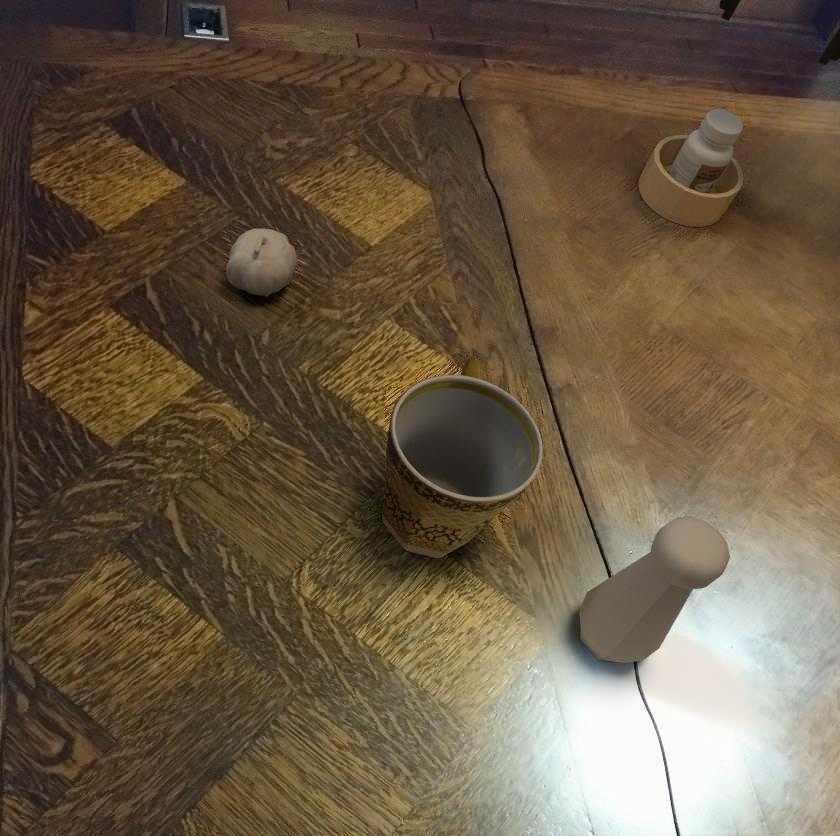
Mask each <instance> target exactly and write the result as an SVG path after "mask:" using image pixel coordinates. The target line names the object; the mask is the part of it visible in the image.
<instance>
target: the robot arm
mask: <svg viewBox="0 0 840 836" xmlns="http://www.w3.org/2000/svg"><path fill="white" fill-rule="evenodd" d="M741 1H742V0H720V1H719V7H718V8H719V9H721V10H723V12H722V15H721V16H720V18H721V19H723V20H725V21H728V22H729V21H730V20H731V18H732V17H733V15H734V14H735V12H736V10H737V9H738V7H739V5H740V3H741ZM839 59H840V25H839V26H838V27H837V28H836V31H835V32H834V34H833V35H832V37H831V38H830V40H829V41H828V43H827V44H826V46H825V47H824V48H823V51H822V53H821V54H820V56H819V57H818V60H817V63H819V64H821V65H823V66H826V65H828V63H829V61H830V60H832V61H834V62H837V61H838V60H839Z"/></svg>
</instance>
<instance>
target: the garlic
mask: <svg viewBox="0 0 840 836" xmlns="http://www.w3.org/2000/svg"><path fill="white" fill-rule="evenodd" d="M296 266H297V252H296V249H295V247H294V246H292V244H290V242H289V239H288V236H287V235H286V234H284V233H282V232H279V231H276V230H274V229H270V228H261V227H260V228H256V227H255V228H252V229H249V230H246V231H245V232H243V233H242V234H240V235H239V236H238V237H237V239H236V240H235V242H234V244H232V245H231V248H230V251H229V260H228V262H227V263H226V266H225V267H226V268H225V275H226V278H227V280H228V282H229V283H230V285H232V286H233V287H234V288H236V289H238V290H241V291H245V292H247V293H248V294H250V295H253V296H254V295H255V296H260V297H269V296H270V295H271V294H275V293H278V292H280V291H281V290H282V289H283V288H285V287H287V286H289V285H290V284H291V281H292V279H293V278H292V277H293V275H294V272H295V271H296Z"/></svg>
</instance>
